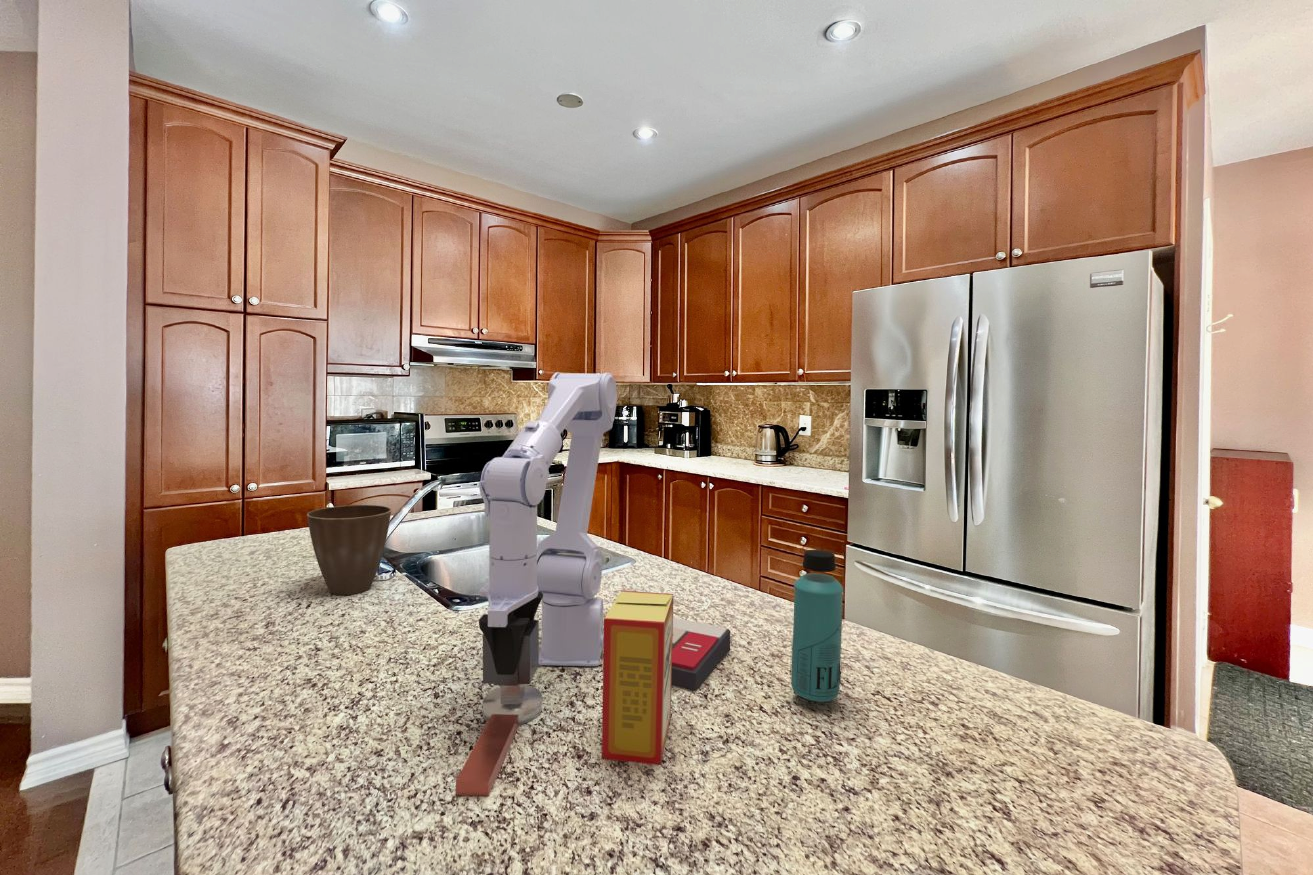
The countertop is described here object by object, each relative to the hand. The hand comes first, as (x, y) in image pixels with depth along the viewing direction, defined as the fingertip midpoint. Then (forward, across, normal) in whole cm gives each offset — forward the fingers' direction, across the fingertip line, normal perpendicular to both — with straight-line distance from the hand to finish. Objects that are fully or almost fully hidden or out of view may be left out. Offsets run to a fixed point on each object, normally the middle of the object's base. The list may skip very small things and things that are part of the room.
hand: (512, 661), depth 71 cm
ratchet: (+6, +6, 0) cm, 9 cm away
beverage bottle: (+6, -4, +39) cm, 40 cm away
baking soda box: (+6, +5, +16) cm, 18 cm away
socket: (+2, 0, 0) cm, 2 cm away
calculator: (+7, -15, +22) cm, 27 cm away
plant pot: (+6, -44, -44) cm, 63 cm away
